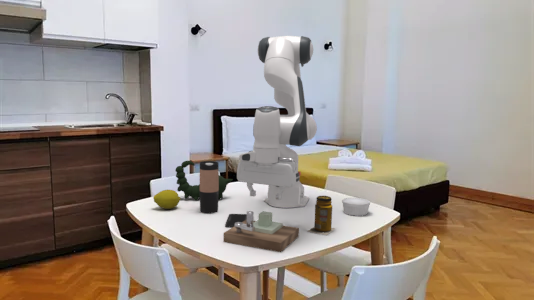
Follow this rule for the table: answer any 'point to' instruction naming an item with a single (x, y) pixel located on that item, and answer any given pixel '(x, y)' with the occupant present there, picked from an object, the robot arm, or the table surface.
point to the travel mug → (209, 186)
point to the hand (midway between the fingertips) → (265, 197)
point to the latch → (249, 224)
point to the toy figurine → (195, 190)
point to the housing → (262, 238)
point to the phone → (235, 219)
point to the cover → (266, 223)
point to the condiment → (323, 216)
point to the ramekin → (355, 206)
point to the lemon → (167, 199)
